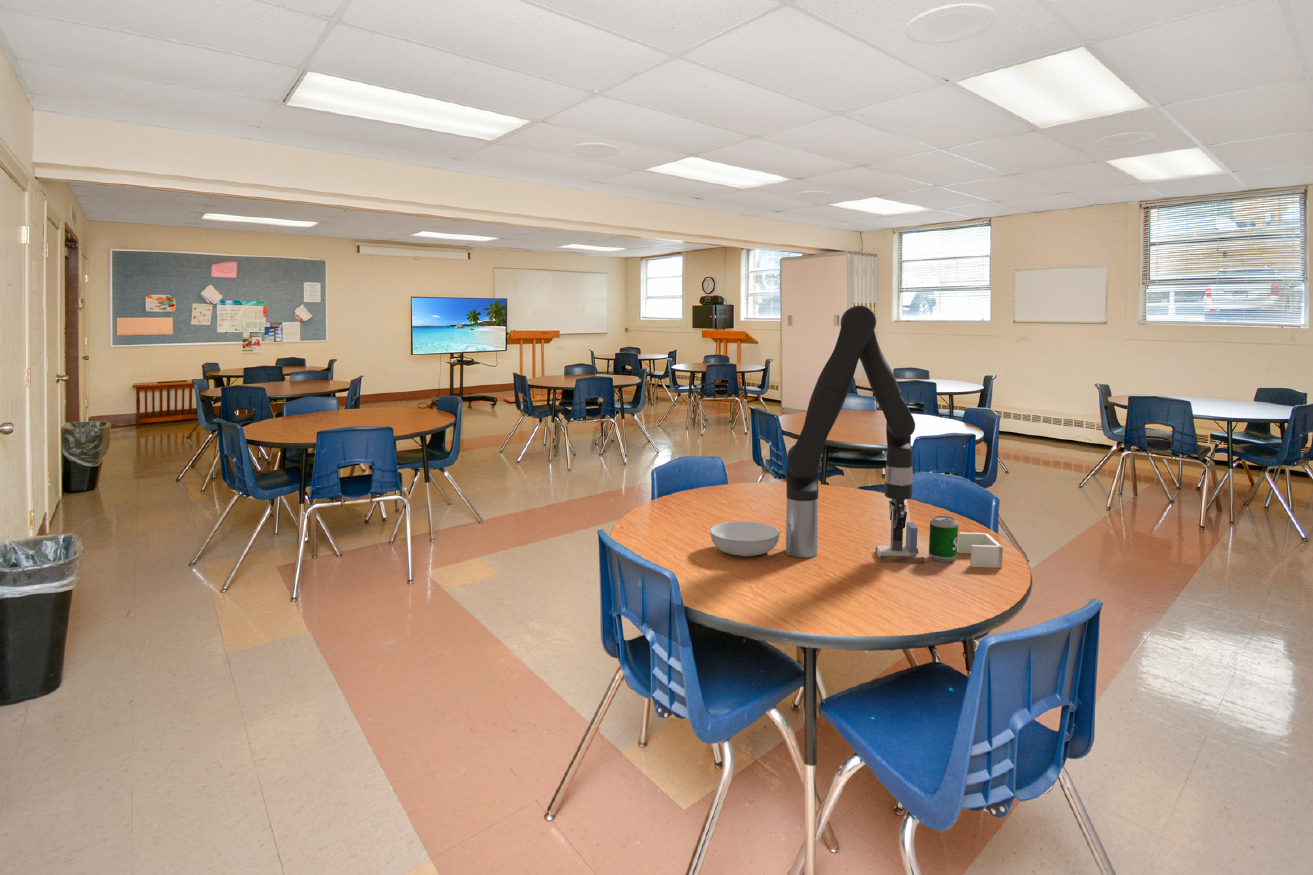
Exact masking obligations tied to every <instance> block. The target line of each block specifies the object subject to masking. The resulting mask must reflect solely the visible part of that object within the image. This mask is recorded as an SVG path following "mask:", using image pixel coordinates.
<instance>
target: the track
mask: <svg viewBox="0 0 1313 875" xmlns="http://www.w3.org/2000/svg"><path fill="white" fill-rule="evenodd" d="M875 553H876V554H877V546H875ZM918 554H919V548H918V547H917V554H916V555H918ZM879 559H880V562H881V563H882V562H883V563H911V564H914V563H916V564H925V562H926V561H925V556H916V557H913V556H880V557H879Z"/></svg>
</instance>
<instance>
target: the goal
mask: <svg viewBox="0 0 1313 875" xmlns="http://www.w3.org/2000/svg"><path fill="white" fill-rule="evenodd" d="M957 554H970V560H969V563H970V565H969V567H971V568H998V569H1001V568H1003V555H1004V546H1003V545H1001V544H1000V543H999V542H998V541H997V540H996V539H994V538H993V537H992V536H991V535H990V534H989V533H987V532H962V531H960V532H959V531H958V540H957Z"/></svg>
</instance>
